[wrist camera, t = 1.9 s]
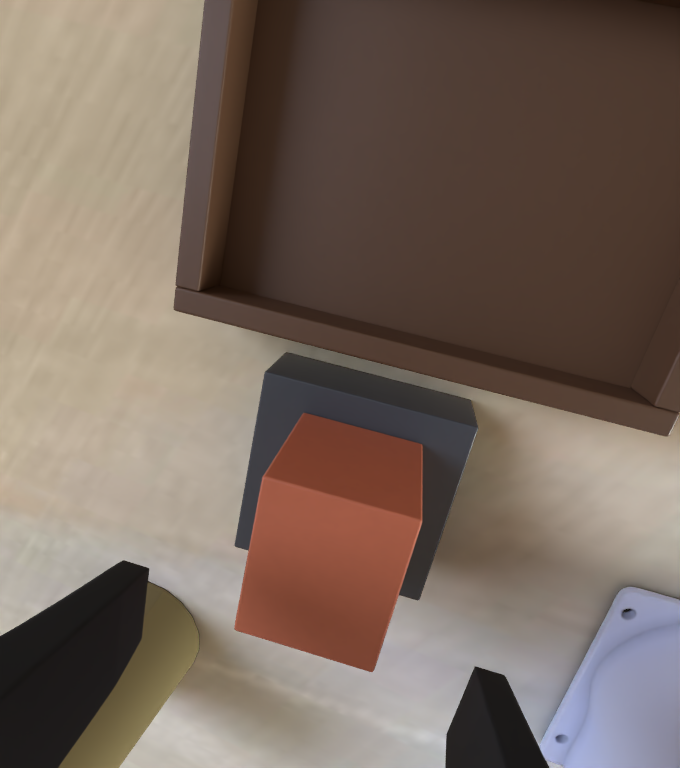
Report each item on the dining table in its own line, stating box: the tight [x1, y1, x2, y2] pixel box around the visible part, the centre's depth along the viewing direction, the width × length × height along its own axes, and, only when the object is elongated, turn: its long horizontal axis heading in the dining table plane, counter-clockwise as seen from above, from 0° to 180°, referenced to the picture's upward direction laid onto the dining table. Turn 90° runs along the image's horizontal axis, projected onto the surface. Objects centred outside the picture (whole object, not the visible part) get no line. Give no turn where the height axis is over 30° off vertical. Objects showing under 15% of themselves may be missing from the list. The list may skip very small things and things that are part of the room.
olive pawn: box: [58, 582, 199, 768], centre depth 19 cm, size 6×6×11 cm
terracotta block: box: [235, 413, 422, 672], centre depth 15 cm, size 5×4×4 cm
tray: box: [174, 0, 680, 436], centre depth 14 cm, size 12×16×3 cm
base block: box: [235, 353, 478, 600], centre depth 18 cm, size 7×7×3 cm
